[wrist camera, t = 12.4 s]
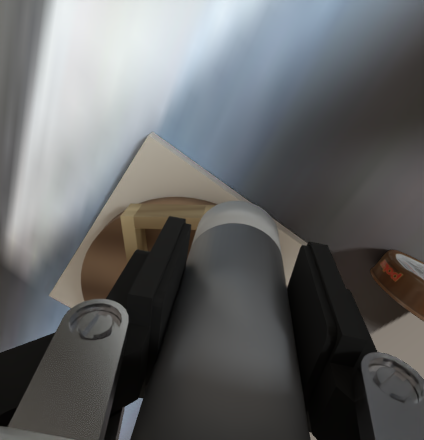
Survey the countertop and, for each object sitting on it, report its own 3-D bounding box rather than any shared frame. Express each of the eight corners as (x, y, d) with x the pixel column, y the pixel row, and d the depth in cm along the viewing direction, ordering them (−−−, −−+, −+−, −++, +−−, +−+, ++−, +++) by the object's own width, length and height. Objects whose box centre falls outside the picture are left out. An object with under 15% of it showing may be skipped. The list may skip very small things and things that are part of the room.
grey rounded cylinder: (200, 194, 13) (97, 474, 4) (286, 207, 13) (362, 525, 4) (192, 265, 15) (107, 571, 6) (269, 277, 15) (297, 610, 6)
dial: (72, 193, 28) (44, 214, 24) (289, 197, 27) (298, 220, 23) (105, 350, 36) (88, 385, 32) (273, 359, 35) (277, 397, 31)
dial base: (152, 131, 27) (147, 135, 26) (333, 262, 31) (338, 271, 30) (56, 287, 35) (47, 296, 34) (209, 374, 39) (208, 386, 38)
